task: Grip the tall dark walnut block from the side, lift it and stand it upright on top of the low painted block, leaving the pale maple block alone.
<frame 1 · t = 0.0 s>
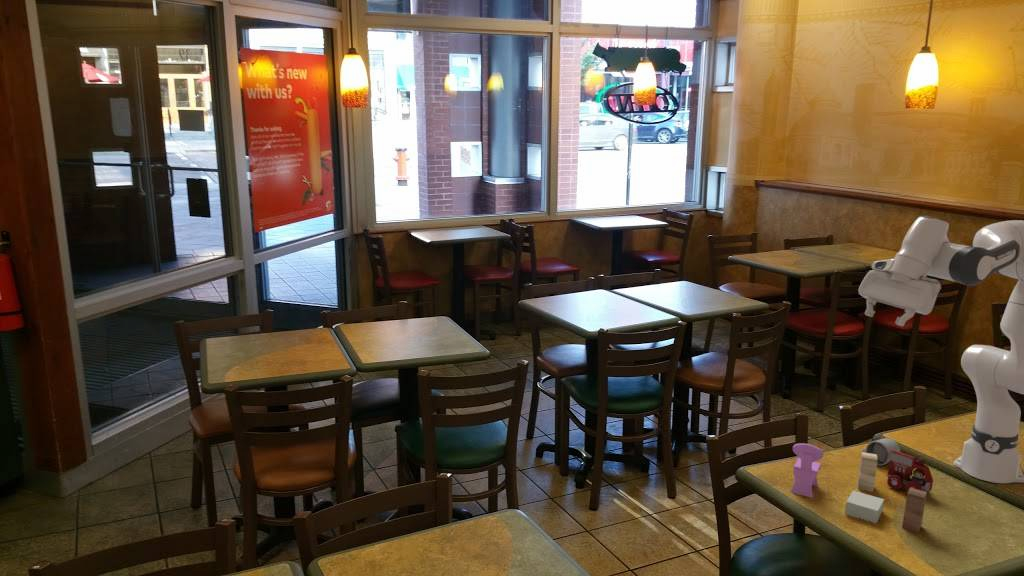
hand: (883, 320, 201), 54 cm above the table, tool tilted 30°, fingers open, 8 cm apart
toy fire truck: (907, 489, 226), on the table
maple block: (865, 487, 226), on the table
ceramic mug: (877, 461, 244), on the table
walnut block: (911, 527, 205), on the table
toy chair: (804, 489, 225), on the table
pedestal block: (863, 513, 212), on the table
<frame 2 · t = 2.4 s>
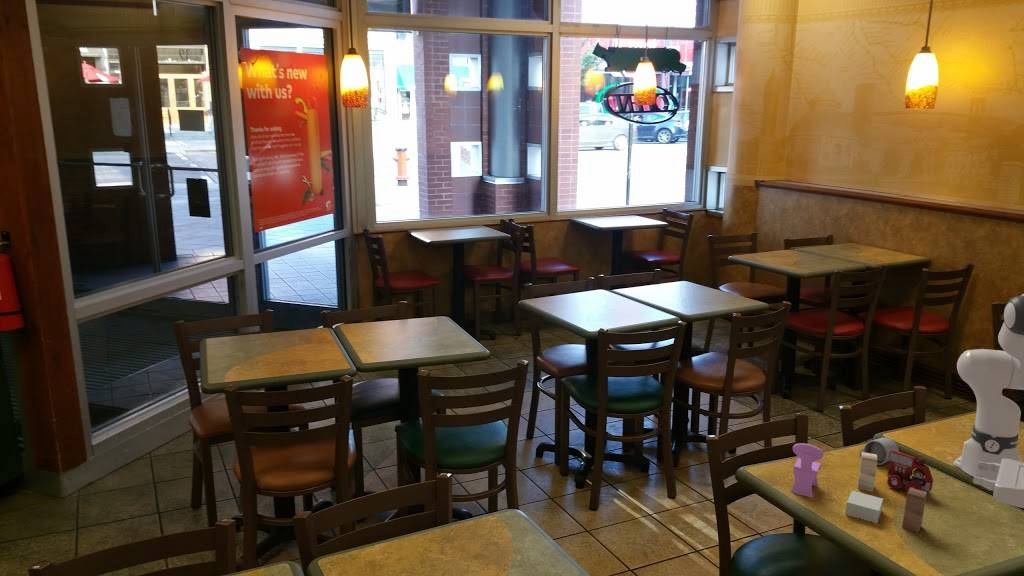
hand: (975, 471, 193), 20 cm above the table, tool horizontal, fingers open, 8 cm apart
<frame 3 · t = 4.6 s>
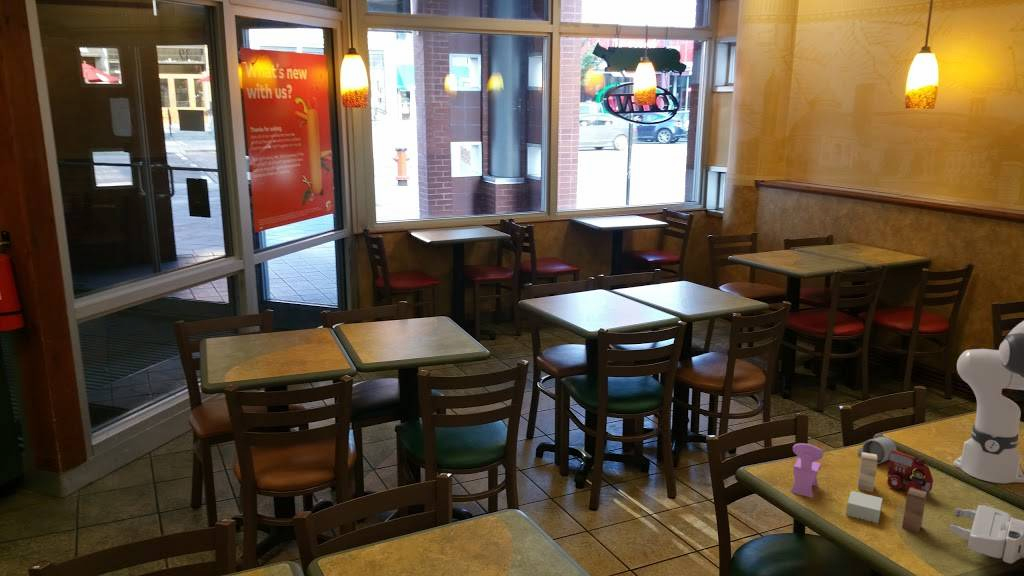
hand: (952, 519, 199), 5 cm above the table, tool horizontal, fingers open, 8 cm apart
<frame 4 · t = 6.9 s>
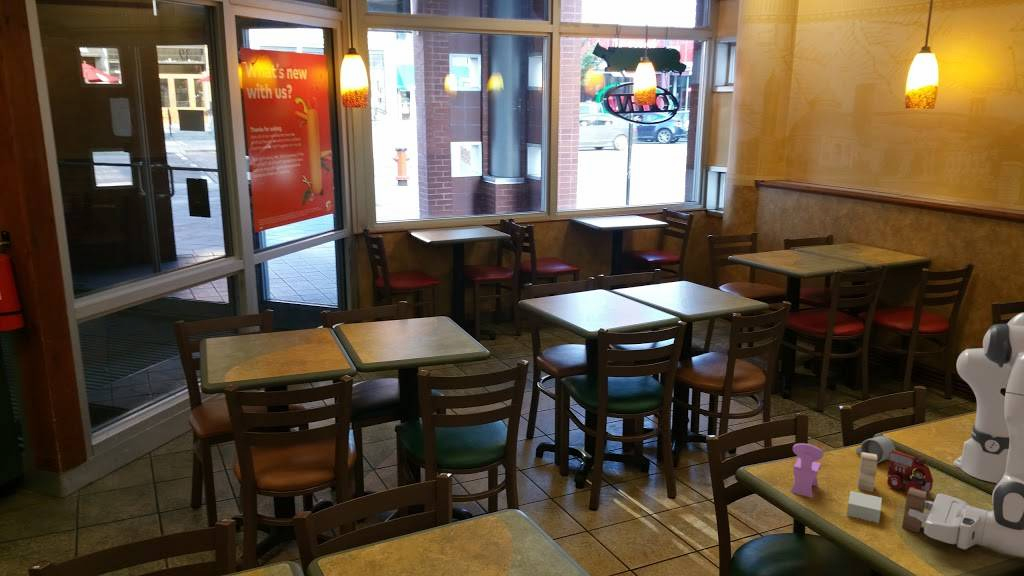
hand: (910, 507, 204), 6 cm above the table, tool horizontal, fingers closed on walnut block, 4 cm apart
walnut block: (911, 527, 205), on the table, touching gripper
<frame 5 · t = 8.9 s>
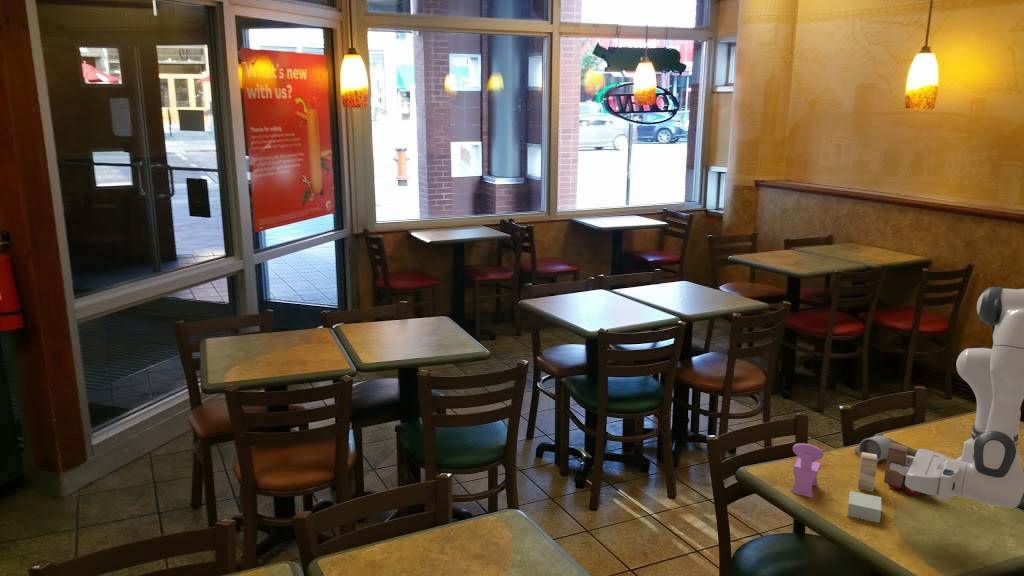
hand: (892, 461, 205), 17 cm above the table, tool horizontal, fingers closed on walnut block, 4 cm apart
walnut block: (893, 481, 205), point 11 cm above the table, touching gripper
when the fingers open (11 cm above the table, at t = 11.0 s): walnut block drops 2 cm, point 4 cm above the table.
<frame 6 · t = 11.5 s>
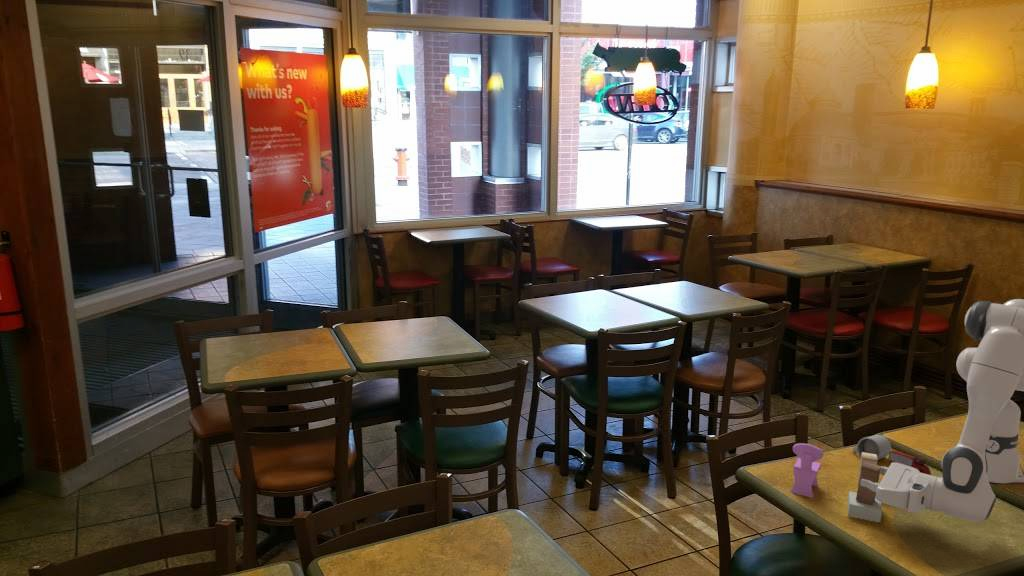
hand: (865, 474, 210), 11 cm above the table, tool horizontal, fingers open, 8 cm apart
walnut block: (865, 500, 211), point 4 cm above the table
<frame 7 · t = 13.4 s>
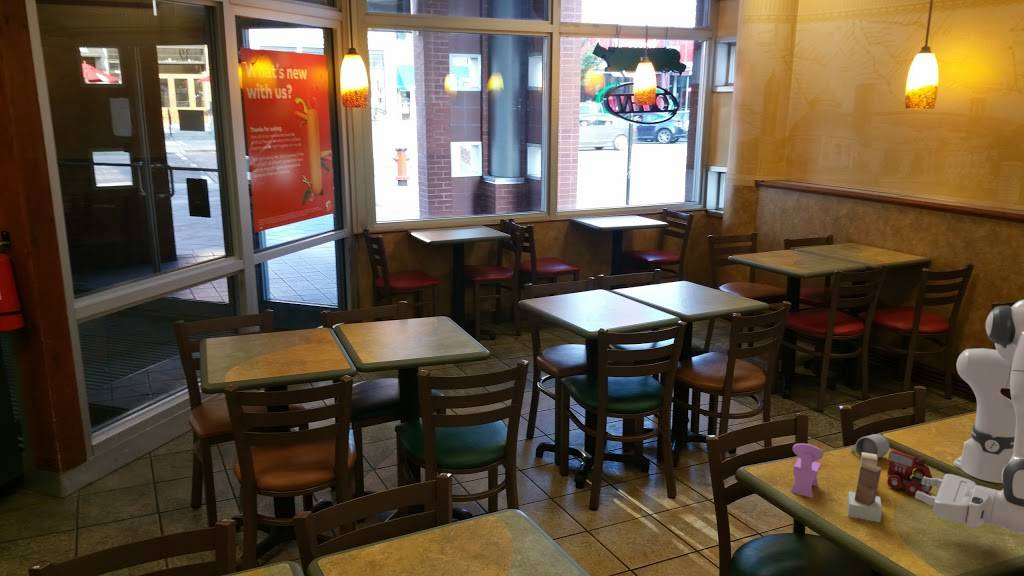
hand: (918, 487, 203), 11 cm above the table, tool horizontal, fingers open, 8 cm apart
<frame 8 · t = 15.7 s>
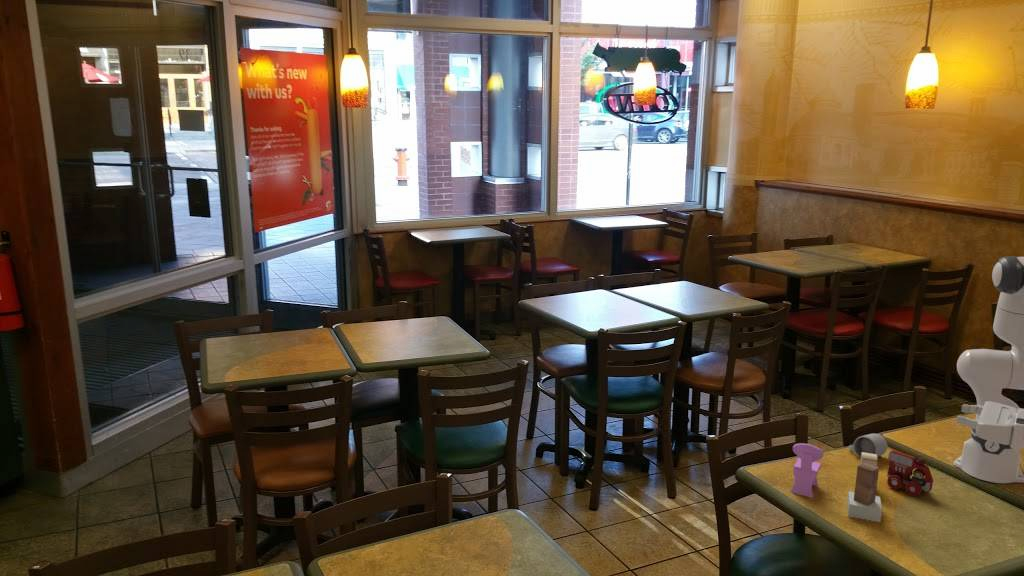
hand: (959, 413, 199), 32 cm above the table, tool horizontal, fingers open, 8 cm apart
walnut block: (864, 500, 211), point 4 cm above the table, touching pedestal block
pedestal block: (863, 513, 212), on the table, touching walnut block
at the end: walnut block 0.5 cm off-centre on the pedestal block, point 4.1 cm above the pedestal block's base; walnut block tilted 2°; the gripper is holding nothing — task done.
